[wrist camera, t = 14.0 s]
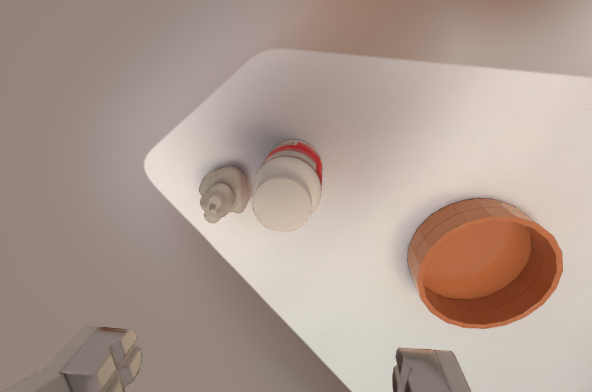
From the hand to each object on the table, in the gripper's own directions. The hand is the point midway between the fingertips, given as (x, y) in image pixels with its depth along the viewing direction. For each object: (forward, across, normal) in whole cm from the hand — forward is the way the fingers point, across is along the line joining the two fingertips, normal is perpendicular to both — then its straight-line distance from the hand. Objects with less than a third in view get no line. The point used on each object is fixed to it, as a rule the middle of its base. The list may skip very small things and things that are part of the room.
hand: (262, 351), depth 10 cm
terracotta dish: (+26, -19, +13) cm, 35 cm away
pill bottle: (+26, +1, +2) cm, 26 cm away
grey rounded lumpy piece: (+26, +9, +5) cm, 28 cm away
